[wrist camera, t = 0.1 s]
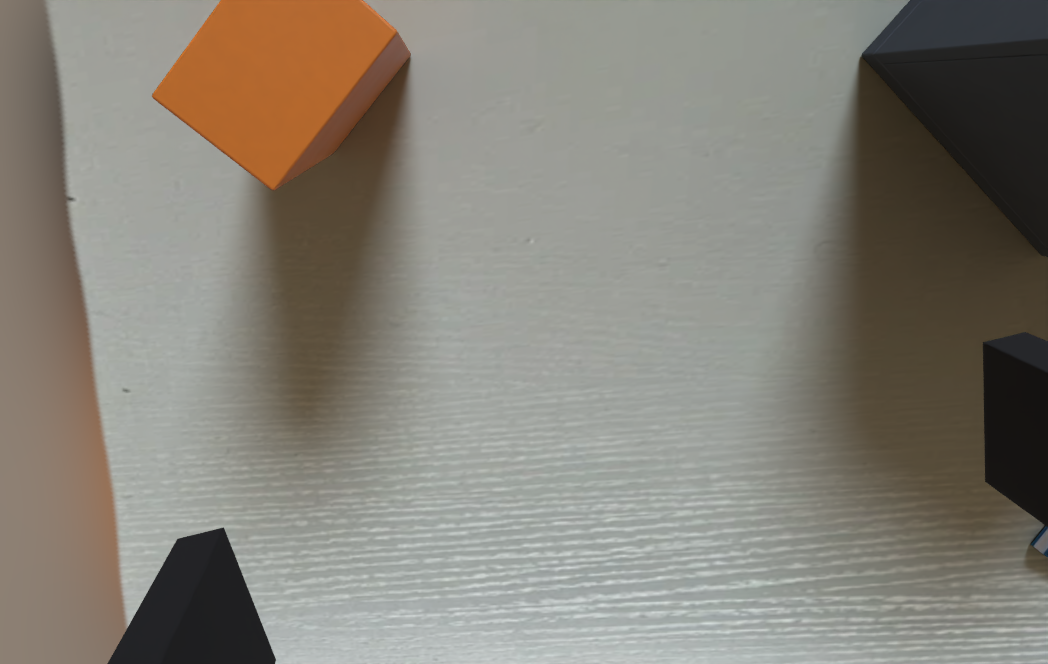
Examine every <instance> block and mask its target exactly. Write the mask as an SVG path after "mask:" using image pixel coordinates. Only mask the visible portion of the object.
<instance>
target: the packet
mask: <svg viewBox="0 0 1048 664" xmlns="http://www.w3.org/2000/svg"><path fill="white" fill-rule="evenodd" d="M410 55H411V53H410V52H409V50H408V48H407V47H406V45H405V43H404V42H403V40H402V39H401V37H400V35H399V34H398V32H397V30H396V29H395V28H394V27H392V26H391V25H390V24H389V23H388V22H387V21H386V20H385V19H383V18H382V17H381V16H380V15H379V14H378V13H377V12H376V11H374V10H373V9H372V8H371V7H370V6H369V5H368V4H367V3H365V2H364V1H363V0H221V1H220V2H219V4H218V5H217V6H216V8H215V9H214V10H213V12H212V13H211V15H210V16H209V17H208V19H207V20H206V21H205V23H204V24H203V26H202V27H201V28H200V30H199V31H198V32H197V34H196V35H195V37H194V38H193V39H192V41H191V42H190V43H189V45H188V46H187V48H186V49H185V50H184V52H183V53H182V54H181V56H180V57H179V58H178V60H177V61H176V63H175V64H174V65H173V67H172V68H171V69H170V71H169V72H168V74H167V75H166V76H165V78H164V79H163V80H162V82H161V83H160V85H159V86H158V87H157V89H156V90H155V91H154V93H153V95H152V97H153V99H155V100H156V101H157V102H158V103H160V104H161V105H162V106H164V107H165V108H166V109H168V110H169V111H170V112H171V113H173V114H174V115H175V116H177V117H178V118H179V119H180V120H182V121H183V122H184V123H186V124H187V125H188V126H189V127H191V128H192V129H193V130H195V131H196V132H197V133H199V134H200V135H201V136H202V137H204V138H205V139H206V140H208V141H209V142H210V143H211V144H213V145H214V146H215V147H217V148H218V149H219V150H220V151H222V152H223V153H224V154H226V155H227V156H228V157H230V158H231V159H232V160H233V161H235V162H236V163H237V164H239V165H240V166H241V167H242V168H244V169H245V170H246V171H248V172H249V173H250V174H251V175H253V176H254V177H255V178H257V179H258V180H259V181H261V182H262V183H263V184H264V185H266V186H267V187H268V188H270V189H271V190H273V191H274V190H276V189H277V188H279V187H281V186H282V185H284V184H285V183H287V182H289V181H290V180H292V179H293V178H295V177H297V176H298V175H300V174H301V173H303V172H305V171H306V170H308V169H309V168H311V167H312V166H314V165H316V164H317V163H319V162H320V161H322V160H324V159H325V158H327V157H328V156H330V155H332V154H333V153H334V152H335V151H336V150H337V148H338V147H339V146H340V144H341V143H342V142H343V141H344V139H345V138H346V137H347V136H348V134H349V133H350V132H351V130H352V129H353V128H354V127H355V125H356V124H357V123H358V122H359V120H360V119H361V118H362V116H363V115H364V114H365V113H366V111H367V110H368V109H369V108H370V106H371V105H372V104H373V102H374V101H375V100H376V99H377V97H378V96H379V95H380V94H381V92H382V91H383V90H384V89H385V87H386V86H387V85H388V83H389V82H390V81H391V80H392V78H393V77H394V76H395V75H396V73H397V72H398V71H399V69H400V68H401V67H402V66H403V64H404V63H405V62H406V61H407V59H408V58H409V57H410Z"/></svg>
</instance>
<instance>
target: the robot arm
mask: <svg viewBox="0 0 1048 664" xmlns="http://www.w3.org/2000/svg"><path fill="white" fill-rule="evenodd" d="M983 371H984V433H985V482H987V483H988V484H989V485H991V486H992V487H993V488H995V489H996V490H998V491H999V492H1000V493H1002V494H1003V495H1004V496H1006V497H1007V498H1009V499H1010V500H1011V501H1013V502H1014V503H1016V504H1017V505H1018V506H1020V507H1021V508H1022V509H1024V510H1025V511H1027V512H1028V513H1029V514H1031V515H1032V516H1033V517H1035V518H1036V519H1038V520H1039V521H1040V522H1042V523H1043V524H1044V525H1046V526H1047V527H1048V341H1045V340H1043V339H1041V338H1038V337H1036V336H1034V335H1031V334H1029V333H1026V332H1024V333H1020V334H1016V335H1012V336H1008V337H1003V338H999V339H995V340H991V341H987V342H983ZM275 661H276V659H275V656H274V654H273V651H272V649H271V646H270V644H269V641H268V639H267V636H266V634H265V631H264V628H263V626H262V623H261V621H260V618H259V616H258V613H257V611H256V608H255V606H254V603H253V601H252V598H251V596H250V593H249V590H248V588H247V585H246V583H245V580H244V578H243V575H242V573H241V570H240V568H239V565H238V563H237V560H236V558H235V555H234V552H233V550H232V547H231V545H230V542H229V540H228V537H227V535H226V532H225V530H224V528H220V529H216V530H212V531H208V532H204V533H200V534H196V535H192V536H188V537H183V538H179V539H177V541H176V543H175V544H174V546H173V548H172V550H171V552H170V553H169V555H168V557H167V559H166V560H165V562H164V564H163V566H162V568H161V569H160V571H159V573H158V575H157V576H156V578H155V580H154V582H153V584H152V585H151V587H150V589H149V591H148V593H147V594H146V596H145V598H144V600H143V601H142V603H141V605H140V607H139V609H138V610H137V612H136V614H135V616H134V618H133V619H132V621H131V623H130V625H129V626H128V628H127V630H126V632H125V634H124V635H123V637H122V639H121V641H120V643H119V644H118V646H117V648H116V650H115V652H114V653H113V655H112V657H111V659H110V660H109V662H108V664H275Z"/></svg>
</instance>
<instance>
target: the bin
mask: <svg viewBox="0 0 1048 664" xmlns="http://www.w3.org/2000/svg"><path fill="white" fill-rule="evenodd" d="M862 57H863V58H864V59H865V60H866V61H867V62H868V63H869V64H870V66H871V67H872V68H873V69H874V70H875V71H876V72H877V73H878V74H879V76H880V77H881V78H882V79H883V80H884V81H885V82H886V83H887V84H888V86H889V87H890V88H891V89H892V90H893V91H894V92H895V93H896V94H897V96H898V97H899V98H900V99H901V100H902V101H903V102H904V103H905V104H906V105H907V107H908V108H909V109H910V110H911V111H912V112H913V113H914V114H915V115H916V117H917V118H918V119H919V120H920V121H921V122H922V123H923V124H924V125H925V127H926V128H927V129H928V130H929V131H930V132H931V133H932V134H933V135H934V137H935V138H936V139H937V140H938V141H939V142H940V143H941V144H942V145H943V146H944V148H945V149H946V150H947V151H948V152H949V153H950V154H951V155H952V156H953V158H954V159H955V160H956V161H957V162H958V163H959V164H960V165H961V166H962V168H963V169H964V170H965V171H966V172H967V173H968V174H969V175H970V176H971V178H972V179H973V180H974V181H975V182H976V183H977V184H978V185H979V186H980V188H981V189H982V190H983V191H984V192H985V193H986V194H987V195H988V196H989V197H990V199H991V200H992V201H993V202H994V203H995V204H996V205H997V206H998V207H999V209H1000V210H1001V211H1002V212H1003V213H1004V214H1005V215H1006V216H1007V217H1008V219H1009V220H1010V221H1011V222H1012V223H1013V224H1014V225H1015V226H1016V227H1017V229H1018V230H1019V231H1020V232H1021V233H1022V234H1023V235H1024V236H1025V237H1026V238H1027V240H1028V241H1029V242H1030V243H1031V244H1032V245H1033V246H1034V247H1035V248H1036V250H1037V251H1038V252H1039V253H1040V254H1041V255H1042V256H1046V257H1048V0H910V1H909V2H908V4H907V5H906V6H905V7H904V8H903V9H902V10H901V11H900V12H899V14H898V15H897V16H896V17H895V18H894V19H893V20H892V21H891V22H890V24H889V25H888V26H887V27H886V28H885V29H884V30H883V31H882V32H881V34H880V35H879V36H878V37H877V38H876V39H875V40H874V41H873V42H872V44H871V45H870V46H869V47H868V48H867V49H866V50H865V51H864V52H863V54H862Z"/></svg>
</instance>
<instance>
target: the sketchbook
mask: <svg viewBox="0 0 1048 664" xmlns="http://www.w3.org/2000/svg"><path fill="white" fill-rule="evenodd" d="M1031 545H1032V546H1033V547H1035V548H1036V549H1037V550H1038V551H1040V552H1041V553H1042V554H1044V555H1045V556H1046V557H1048V527H1047V526H1045V528H1044V529H1043V530H1042V531H1041V532H1040V534H1039V535H1038V536H1037V537H1036V539H1035V540H1034V541H1033V542H1032V544H1031Z"/></svg>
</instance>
